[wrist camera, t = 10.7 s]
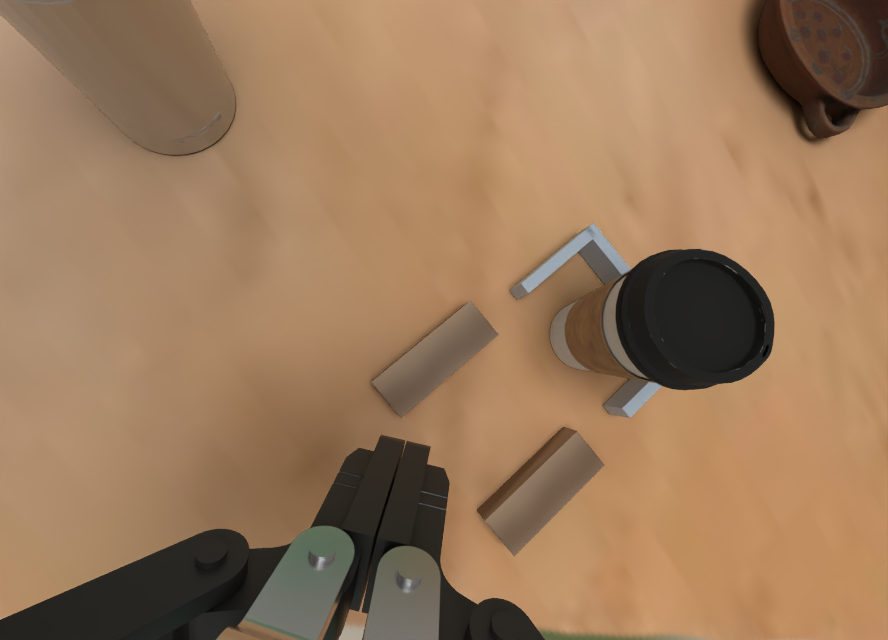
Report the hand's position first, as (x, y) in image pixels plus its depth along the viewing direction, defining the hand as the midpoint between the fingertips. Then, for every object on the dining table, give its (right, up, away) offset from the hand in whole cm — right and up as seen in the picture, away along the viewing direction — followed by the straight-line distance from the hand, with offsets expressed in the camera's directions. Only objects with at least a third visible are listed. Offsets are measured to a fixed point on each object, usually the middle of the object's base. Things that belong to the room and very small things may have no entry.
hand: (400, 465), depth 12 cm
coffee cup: (+13, +3, +25) cm, 29 cm away
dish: (+41, +33, +34) cm, 63 cm away
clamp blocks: (+5, -4, +23) cm, 24 cm away
